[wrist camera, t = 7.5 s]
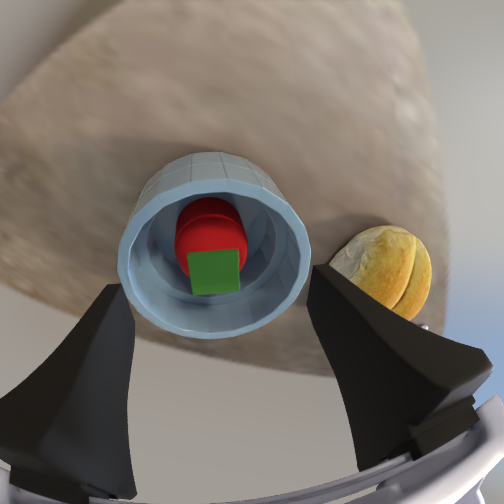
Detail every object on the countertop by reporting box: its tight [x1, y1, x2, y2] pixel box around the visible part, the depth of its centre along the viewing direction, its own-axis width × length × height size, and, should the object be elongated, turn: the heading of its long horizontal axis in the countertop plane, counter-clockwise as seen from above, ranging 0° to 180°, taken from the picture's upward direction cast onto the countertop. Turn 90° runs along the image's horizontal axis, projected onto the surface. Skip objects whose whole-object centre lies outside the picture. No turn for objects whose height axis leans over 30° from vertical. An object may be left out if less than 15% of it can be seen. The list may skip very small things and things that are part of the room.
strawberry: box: [174, 197, 248, 296], centre depth 13 cm, size 3×3×4 cm
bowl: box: [117, 152, 311, 339], centre depth 14 cm, size 8×8×4 cm
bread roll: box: [329, 225, 432, 321], centre depth 18 cm, size 8×9×4 cm
